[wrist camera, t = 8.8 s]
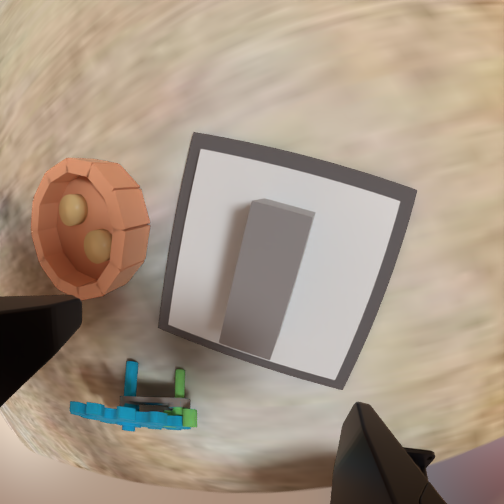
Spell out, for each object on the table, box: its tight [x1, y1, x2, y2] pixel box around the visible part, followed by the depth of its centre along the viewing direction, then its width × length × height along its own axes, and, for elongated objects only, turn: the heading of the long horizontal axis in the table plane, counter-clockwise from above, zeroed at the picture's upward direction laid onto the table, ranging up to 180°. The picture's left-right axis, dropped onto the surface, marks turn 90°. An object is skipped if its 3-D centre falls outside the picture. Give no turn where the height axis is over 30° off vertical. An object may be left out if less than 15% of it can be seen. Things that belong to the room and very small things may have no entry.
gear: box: [70, 361, 197, 431], centre depth 22 cm, size 11×6×10 cm
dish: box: [31, 158, 150, 300], centre depth 21 cm, size 10×10×3 cm
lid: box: [168, 149, 400, 380], centre depth 18 cm, size 12×12×4 cm
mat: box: [158, 132, 417, 390], centre depth 19 cm, size 14×14×1 cm
